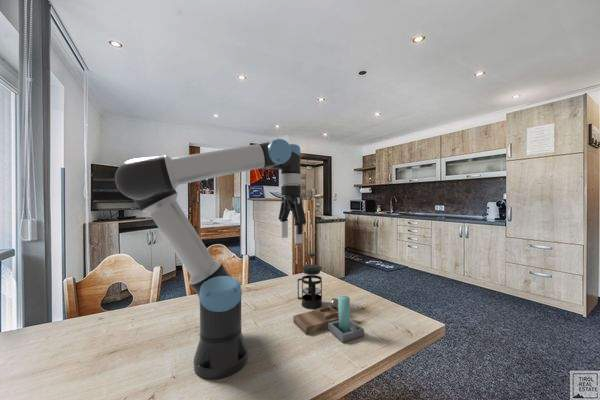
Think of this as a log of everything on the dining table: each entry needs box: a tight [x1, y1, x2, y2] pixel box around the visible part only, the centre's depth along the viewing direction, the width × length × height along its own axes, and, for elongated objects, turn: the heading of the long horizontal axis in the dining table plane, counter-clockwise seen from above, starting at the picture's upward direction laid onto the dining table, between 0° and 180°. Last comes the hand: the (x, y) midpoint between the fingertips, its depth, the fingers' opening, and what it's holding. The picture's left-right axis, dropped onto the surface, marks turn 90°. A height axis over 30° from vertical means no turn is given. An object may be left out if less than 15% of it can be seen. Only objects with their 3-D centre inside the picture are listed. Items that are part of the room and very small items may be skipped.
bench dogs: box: [330, 298, 339, 312], centre depth 100 cm, size 3×8×6 cm, turn 26°
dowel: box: [337, 295, 351, 333], centre depth 88 cm, size 4×4×12 cm
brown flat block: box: [292, 305, 339, 336], centre depth 96 cm, size 16×10×4 cm, turn 118°
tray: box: [327, 319, 365, 344], centre depth 88 cm, size 9×9×2 cm
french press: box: [297, 252, 323, 310], centre depth 112 cm, size 12×9×23 cm
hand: (291, 240), depth 96 cm, fingers open, 13 cm apart
